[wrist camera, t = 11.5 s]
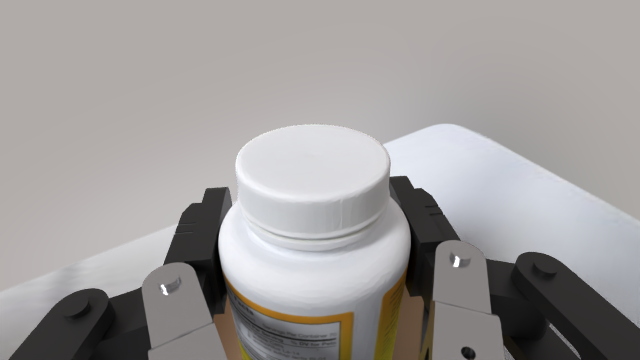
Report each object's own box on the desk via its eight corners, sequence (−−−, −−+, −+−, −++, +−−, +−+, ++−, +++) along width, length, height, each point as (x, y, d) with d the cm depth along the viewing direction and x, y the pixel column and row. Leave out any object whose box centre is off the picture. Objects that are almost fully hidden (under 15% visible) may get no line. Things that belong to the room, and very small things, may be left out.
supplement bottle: (348, 300, 18) (359, 102, 12) (414, 412, 13) (479, 184, 8) (236, 340, 16) (189, 129, 10) (270, 485, 11) (221, 255, 6)
